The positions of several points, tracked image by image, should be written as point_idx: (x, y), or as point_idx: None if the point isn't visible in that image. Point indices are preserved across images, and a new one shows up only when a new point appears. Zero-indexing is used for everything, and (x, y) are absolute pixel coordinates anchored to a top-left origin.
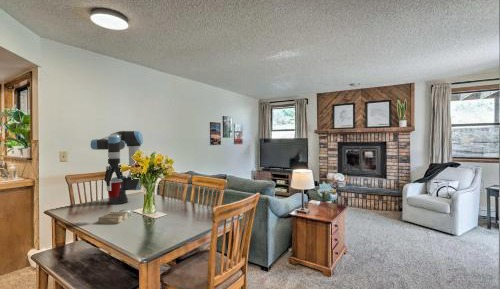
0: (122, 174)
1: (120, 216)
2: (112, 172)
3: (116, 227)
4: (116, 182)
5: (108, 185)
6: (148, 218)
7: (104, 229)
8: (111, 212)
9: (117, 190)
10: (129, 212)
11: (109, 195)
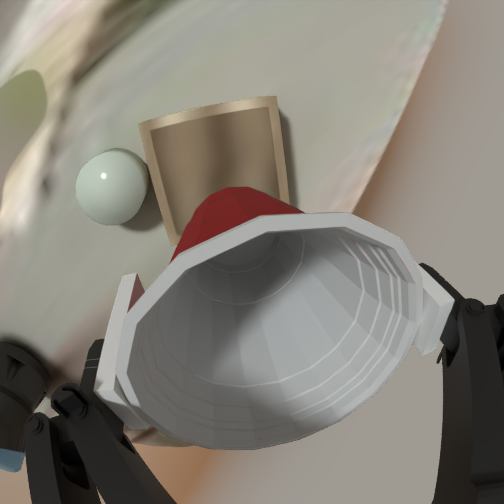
0: (27, 467)
1: (243, 104)
2: (497, 468)
3: (321, 66)
4: (385, 232)
5: (429, 267)
6: (131, 5)
7: (355, 106)
8: (178, 234)
9: (267, 196)
10: (109, 152)
11: (286, 249)
